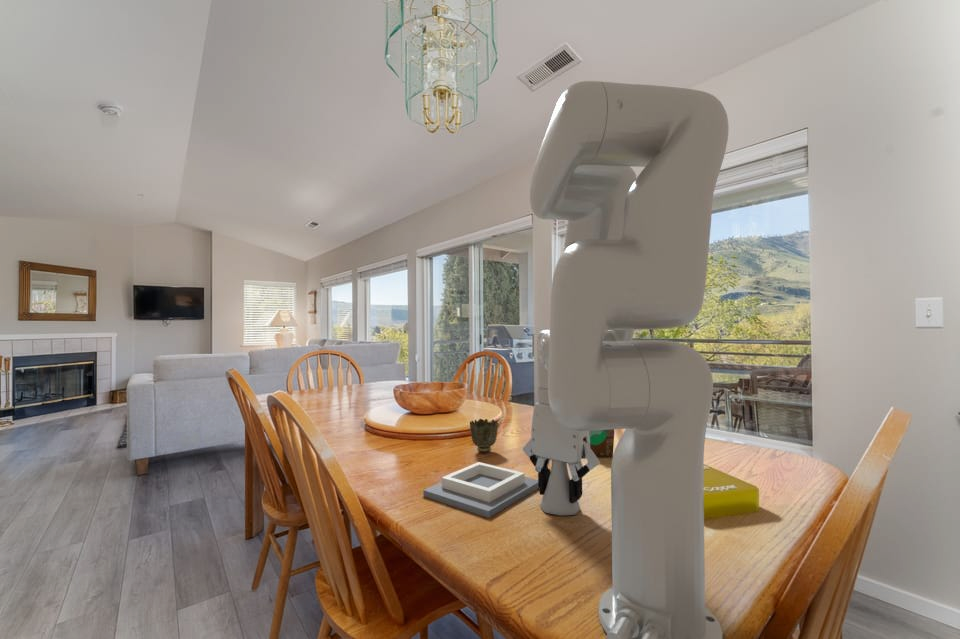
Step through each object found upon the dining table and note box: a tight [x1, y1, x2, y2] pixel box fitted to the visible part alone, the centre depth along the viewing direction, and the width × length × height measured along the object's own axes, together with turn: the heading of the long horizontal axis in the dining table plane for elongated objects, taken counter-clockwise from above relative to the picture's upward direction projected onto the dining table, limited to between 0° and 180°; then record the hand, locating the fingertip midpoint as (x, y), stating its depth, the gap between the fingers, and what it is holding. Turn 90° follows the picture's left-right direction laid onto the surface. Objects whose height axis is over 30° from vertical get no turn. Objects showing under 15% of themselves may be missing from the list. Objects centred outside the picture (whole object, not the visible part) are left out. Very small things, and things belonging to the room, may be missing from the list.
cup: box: [469, 418, 499, 454], centre depth 113 cm, size 8×7×8 cm
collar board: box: [422, 461, 539, 519], centre depth 87 cm, size 18×16×3 cm
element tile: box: [703, 464, 760, 520], centre depth 82 cm, size 15×15×5 cm
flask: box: [539, 460, 581, 516], centre depth 79 cm, size 7×7×10 cm
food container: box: [589, 429, 616, 459], centre depth 111 cm, size 12×6×10 cm, turn 25°
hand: (559, 495), depth 79 cm, fingers open, 5 cm apart
